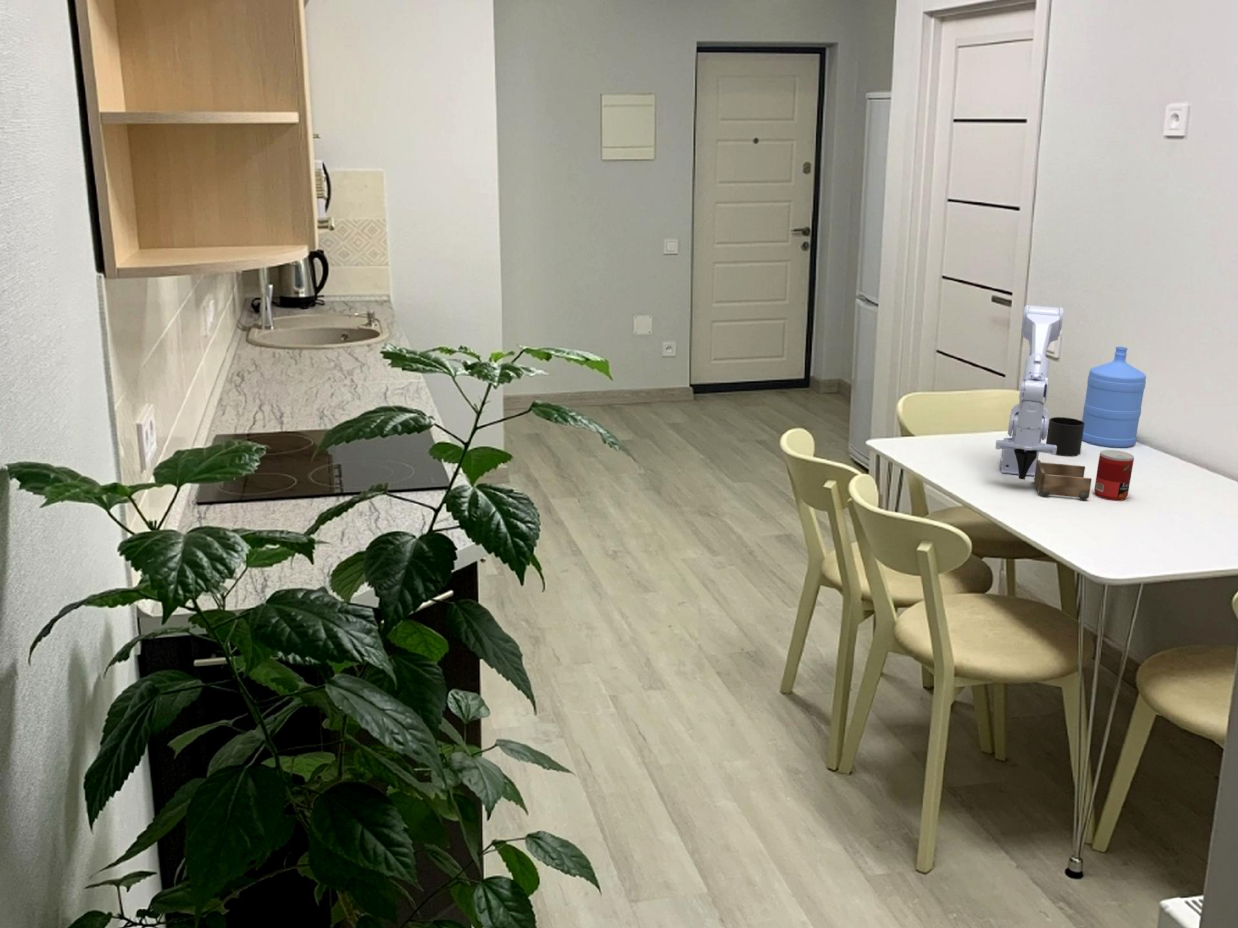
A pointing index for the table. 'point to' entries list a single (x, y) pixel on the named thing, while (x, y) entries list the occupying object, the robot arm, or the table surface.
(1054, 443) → the mug
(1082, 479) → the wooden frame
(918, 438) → the table surface
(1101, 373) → the water jug
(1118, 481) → the canned food
